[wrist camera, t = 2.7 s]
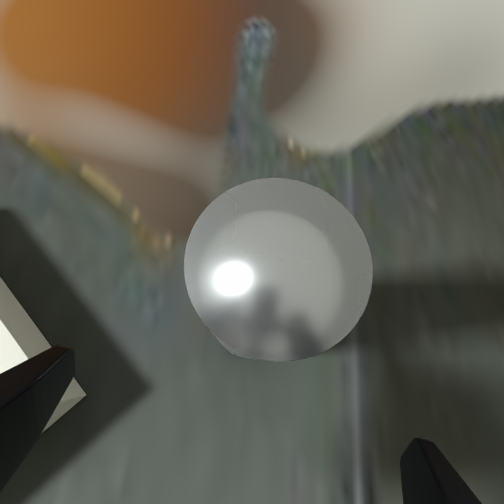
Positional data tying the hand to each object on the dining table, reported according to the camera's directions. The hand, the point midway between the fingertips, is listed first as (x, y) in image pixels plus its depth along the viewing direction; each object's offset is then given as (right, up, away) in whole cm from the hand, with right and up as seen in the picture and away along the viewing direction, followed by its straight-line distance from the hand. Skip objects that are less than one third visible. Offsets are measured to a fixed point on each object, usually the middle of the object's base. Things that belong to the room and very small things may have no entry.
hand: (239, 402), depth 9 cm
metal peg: (0, 0, +11) cm, 11 cm away
